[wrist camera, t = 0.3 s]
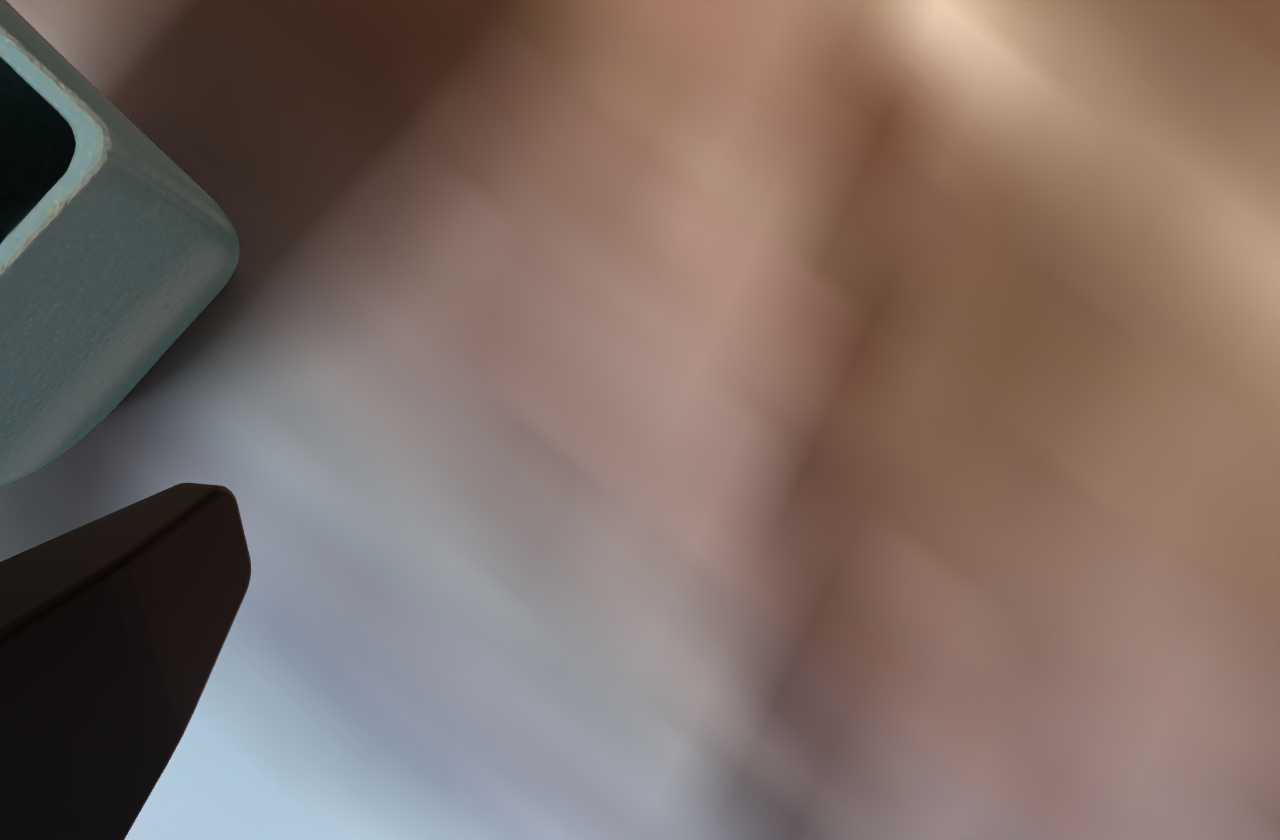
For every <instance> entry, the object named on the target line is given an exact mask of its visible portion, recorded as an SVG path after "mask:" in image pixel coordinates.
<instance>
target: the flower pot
mask: <svg viewBox="0 0 1280 840" xmlns="http://www.w3.org/2000/svg"><path fill="white" fill-rule="evenodd" d="M239 253H240V246H239V239H238V236H237V233H236V231H235V229H234V227H233V225H232V223H231V222H230V220H229V219H228V217H227V216H226V214H225V213H224V212H223V211H222V209H221V208H220V207H219V206H218V204H217V203H216V202H215V201H214V200H213V199H212V198H211V197H210V196H209V195H208V194H207V193H206V192H205V191H204V190H203V189H202V188H201V187H200V186H199V185H197V184H196V183H195V182H194V181H193V180H192V179H191V178H190V177H189V176H188V175H187V174H186V173H185V172H184V171H183V170H182V169H181V168H179V167H178V166H177V165H176V164H175V163H174V162H173V161H172V160H171V159H170V158H169V157H168V156H167V155H166V154H165V153H164V152H163V151H161V150H160V149H159V148H158V147H157V146H156V145H155V144H154V143H153V142H152V141H151V140H150V139H149V138H148V137H147V136H146V135H145V134H144V133H143V132H141V131H140V130H139V129H138V128H137V127H136V126H135V125H134V124H133V123H132V122H131V121H130V120H129V119H128V118H127V117H126V116H125V115H124V114H122V113H121V112H120V111H119V110H118V109H117V108H116V107H115V106H114V105H113V104H112V103H111V102H110V101H109V100H108V99H107V98H106V97H105V96H104V95H103V94H102V93H101V92H99V91H98V90H97V89H96V88H95V87H94V86H93V85H92V84H91V83H90V82H89V81H88V80H87V79H86V78H85V77H84V76H83V75H82V74H81V73H80V72H79V71H78V70H77V69H76V68H75V67H73V66H72V65H71V64H70V63H69V62H68V61H67V60H66V59H65V58H64V57H63V56H62V55H61V54H60V53H59V52H58V51H57V50H56V49H55V48H54V47H53V46H52V45H51V44H50V43H49V42H48V41H47V40H46V39H44V38H43V37H42V36H41V35H40V34H39V33H38V32H37V31H36V30H35V29H34V28H33V27H32V26H31V25H30V24H29V23H28V22H27V21H26V20H25V19H24V18H23V17H22V16H21V15H20V14H19V13H18V12H17V11H16V10H15V9H14V8H13V7H12V6H11V5H10V4H9V3H8V2H7V1H6V0H0V488H2V487H5V486H7V485H9V484H12V483H14V482H16V481H19V480H21V479H23V478H25V477H27V476H29V475H30V474H32V473H34V472H36V471H38V470H39V469H41V468H43V467H44V466H46V465H47V464H49V463H51V462H52V461H54V460H55V459H57V458H58V457H59V456H61V455H62V454H64V453H65V452H66V451H68V450H69V449H70V448H71V447H73V446H74V445H75V444H76V443H78V442H79V441H80V440H81V439H83V438H84V437H85V436H86V435H87V434H88V433H89V432H90V431H92V430H93V429H94V428H95V427H96V426H97V425H98V424H99V423H100V422H101V421H102V420H104V419H105V418H106V417H107V416H108V415H109V414H110V413H111V412H112V411H113V410H114V409H115V408H116V407H117V405H118V404H119V403H120V402H121V401H122V400H123V399H124V398H125V397H126V396H127V394H128V393H129V392H130V391H131V390H132V389H133V388H134V387H135V386H136V384H137V383H138V382H139V381H140V380H141V379H142V378H143V377H144V376H145V374H146V373H147V372H148V371H149V370H150V369H151V368H152V367H153V365H154V364H155V363H156V362H157V361H158V360H159V358H160V357H161V356H162V355H163V354H164V353H165V352H166V350H167V349H168V348H169V347H170V346H171V345H172V344H173V343H174V342H175V341H176V340H177V338H178V337H179V336H180V335H181V334H182V333H183V332H184V331H185V330H186V329H187V328H188V327H189V325H190V324H191V323H192V322H193V321H194V320H195V319H196V318H197V317H198V316H199V315H200V314H201V313H202V311H203V310H204V309H205V308H206V307H207V306H208V305H209V304H210V303H211V301H212V300H213V299H214V298H215V297H216V296H217V295H218V294H219V293H220V291H221V290H222V289H223V288H224V287H225V285H226V284H227V283H228V282H229V280H230V278H231V276H232V274H233V273H234V271H235V269H236V266H237V264H238V261H239Z"/></svg>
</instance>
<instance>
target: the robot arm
mask: <svg viewBox="0 0 1280 840" xmlns="http://www.w3.org/2000/svg"><path fill="white" fill-rule="evenodd" d="M250 576H251V561H250V556H249V551H248V547H247V543H246V538H245V534H244V530H243V526H242V521H241V517H240V513H239V508H238V504H237V501H236V498H235V496H234V495H233V493H232V492H231V491H230V490H229V489H228V488H226V487H224V486H219V485H208V484H197V483H181V484H178V485H175V486H173V487H171V488H168V489H166V490H164V491H162V492H159V493H157V494H155V495H152V496H150V497H148V498H146V499H143V500H141V501H139V502H136V503H134V504H132V505H130V506H127V507H125V508H123V509H120V510H118V511H116V512H114V513H111V514H109V515H107V516H105V517H102V518H100V519H98V520H95V521H93V522H91V523H89V524H86V525H84V526H82V527H79V528H77V529H75V530H73V531H70V532H68V533H66V534H63V535H61V536H59V537H57V538H54V539H52V540H50V541H47V542H45V543H43V544H41V545H38V546H36V547H34V548H31V549H29V550H27V551H25V552H22V553H20V554H18V555H15V556H13V557H11V558H9V559H6V560H4V561H2V562H0V840H124V839H125V837H126V836H127V834H128V832H129V830H130V829H131V827H132V825H133V823H134V822H135V820H136V818H137V816H138V815H139V813H140V811H141V809H142V808H143V806H144V804H145V802H146V801H147V799H148V797H149V795H150V794H151V792H152V790H153V788H154V787H155V785H156V783H157V781H158V780H159V778H160V776H161V774H162V773H163V771H164V769H165V767H166V766H167V764H168V762H169V760H170V758H171V756H172V755H173V753H174V751H175V749H176V747H177V745H178V743H179V742H180V740H181V738H182V736H183V734H184V732H185V730H186V728H187V725H188V723H189V721H190V719H191V717H192V715H193V713H194V711H195V708H196V706H197V704H198V702H199V699H200V697H201V695H202V692H203V690H204V688H205V686H206V683H207V681H208V679H209V676H210V674H211V672H212V669H213V667H214V665H215V663H216V660H217V658H218V656H219V653H220V651H221V649H222V647H223V644H224V642H225V640H226V637H227V635H228V633H229V631H230V628H231V626H232V624H233V621H234V619H235V617H236V615H237V612H238V610H239V608H240V605H241V603H242V601H243V599H244V596H245V594H246V592H247V589H248V586H249V582H250Z"/></svg>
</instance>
